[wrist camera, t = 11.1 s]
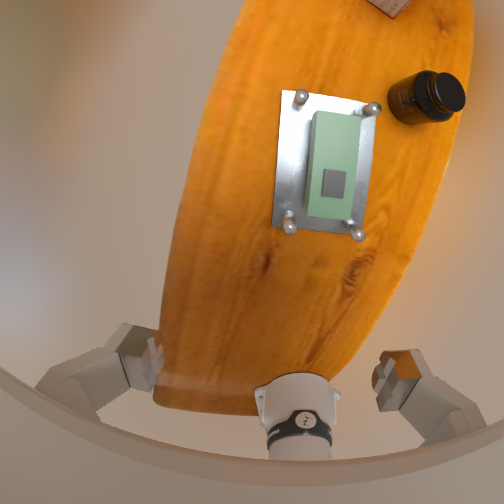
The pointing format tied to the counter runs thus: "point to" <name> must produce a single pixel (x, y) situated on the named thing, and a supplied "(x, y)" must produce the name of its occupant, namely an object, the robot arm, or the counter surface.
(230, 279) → the counter surface
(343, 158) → the green rectangular block
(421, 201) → the counter surface
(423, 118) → the supplement bottle
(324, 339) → the counter surface
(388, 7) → the cracker box
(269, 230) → the counter surface
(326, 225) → the chassis
